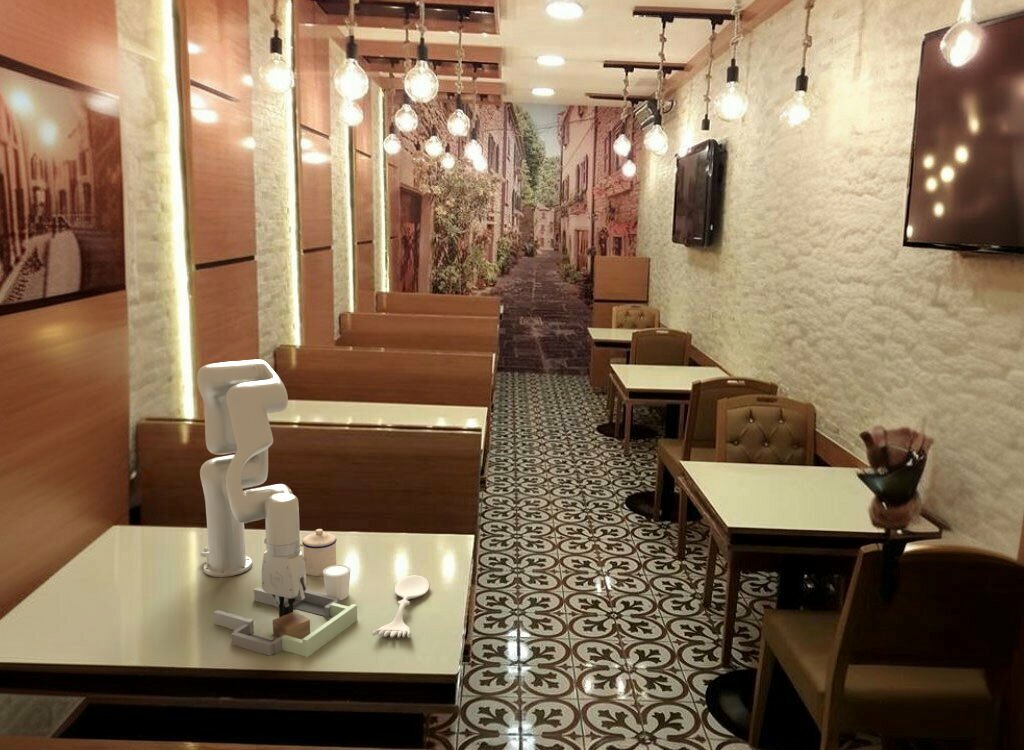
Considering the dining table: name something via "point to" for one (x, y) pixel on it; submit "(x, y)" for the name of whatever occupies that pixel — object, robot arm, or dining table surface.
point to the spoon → (404, 604)
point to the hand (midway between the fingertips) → (286, 619)
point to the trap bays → (268, 647)
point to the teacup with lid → (319, 552)
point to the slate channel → (304, 647)
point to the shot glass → (337, 581)
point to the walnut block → (291, 625)
